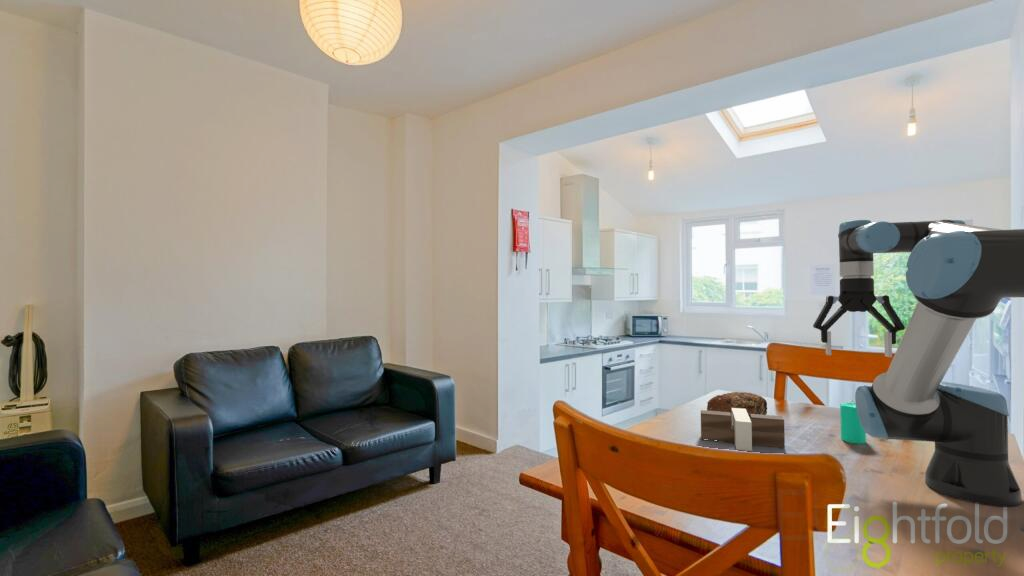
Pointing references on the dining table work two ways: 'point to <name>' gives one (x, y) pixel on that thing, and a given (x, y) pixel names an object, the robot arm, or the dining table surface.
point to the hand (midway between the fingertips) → (857, 355)
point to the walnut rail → (763, 428)
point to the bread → (738, 403)
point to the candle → (851, 424)
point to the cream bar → (742, 429)
